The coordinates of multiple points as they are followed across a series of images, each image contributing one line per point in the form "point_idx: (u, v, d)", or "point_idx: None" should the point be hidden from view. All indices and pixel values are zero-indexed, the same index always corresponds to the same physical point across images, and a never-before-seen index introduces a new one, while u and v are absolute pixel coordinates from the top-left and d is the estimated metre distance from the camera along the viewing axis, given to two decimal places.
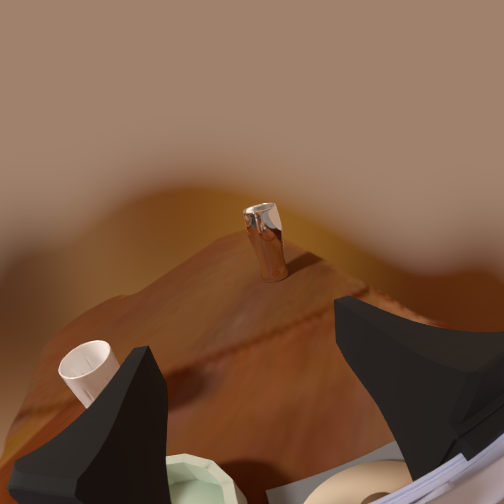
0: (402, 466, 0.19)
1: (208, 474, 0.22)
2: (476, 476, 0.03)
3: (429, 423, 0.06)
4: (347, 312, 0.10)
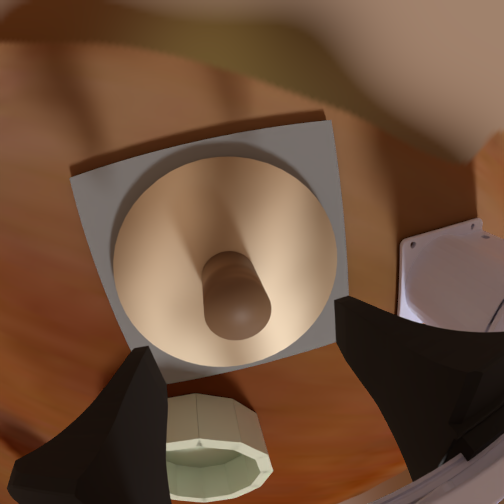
0: (136, 217, 0.15)
1: None
2: (476, 476, 0.03)
3: (429, 423, 0.06)
4: (347, 312, 0.10)
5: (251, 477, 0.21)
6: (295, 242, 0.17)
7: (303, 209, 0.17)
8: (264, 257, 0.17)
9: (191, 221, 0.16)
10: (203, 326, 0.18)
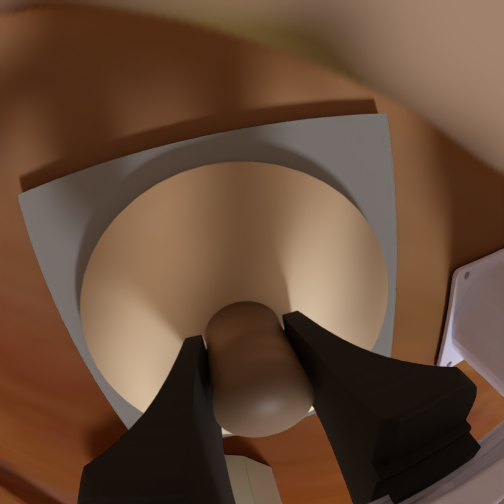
0: (106, 255, 0.10)
1: None
2: (476, 476, 0.03)
3: (358, 458, 0.06)
4: (291, 329, 0.10)
5: None
6: (337, 285, 0.12)
7: (350, 239, 0.11)
8: (294, 308, 0.12)
9: (188, 260, 0.11)
10: None
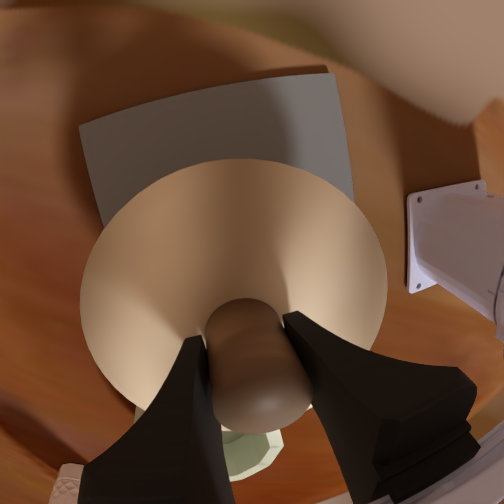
0: (106, 251, 0.10)
1: None
2: (476, 476, 0.03)
3: (358, 458, 0.06)
4: (291, 329, 0.10)
5: (260, 454, 0.21)
6: (336, 282, 0.12)
7: (350, 237, 0.11)
8: (293, 305, 0.12)
9: (188, 257, 0.11)
10: None
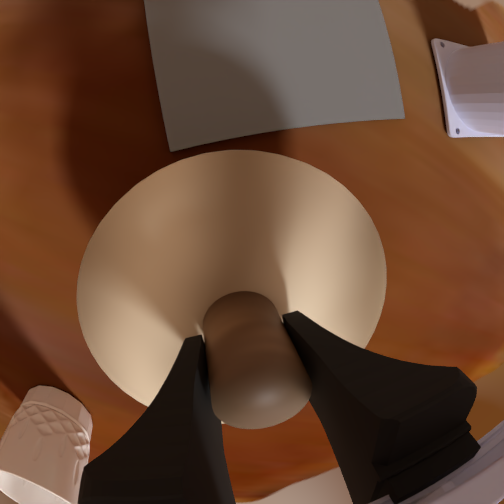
0: (104, 242, 0.10)
1: None
2: (476, 476, 0.03)
3: (358, 458, 0.06)
4: (291, 329, 0.10)
5: None
6: (336, 277, 0.12)
7: (351, 232, 0.11)
8: (292, 298, 0.12)
9: (187, 249, 0.10)
10: None
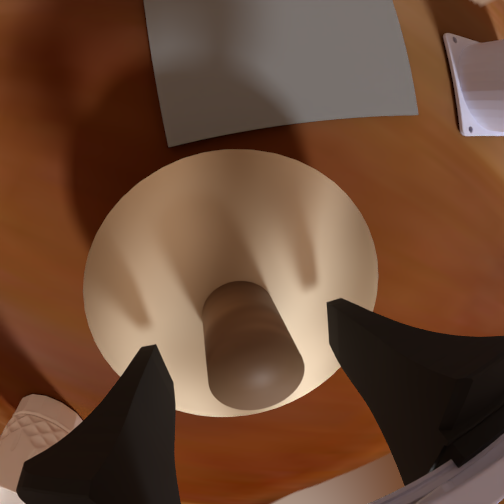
0: (111, 233, 0.11)
1: None
2: (476, 476, 0.03)
3: (419, 428, 0.06)
4: (339, 315, 0.10)
5: None
6: (328, 268, 0.13)
7: (341, 225, 0.12)
8: (287, 289, 0.13)
9: (188, 240, 0.11)
10: (204, 373, 0.13)
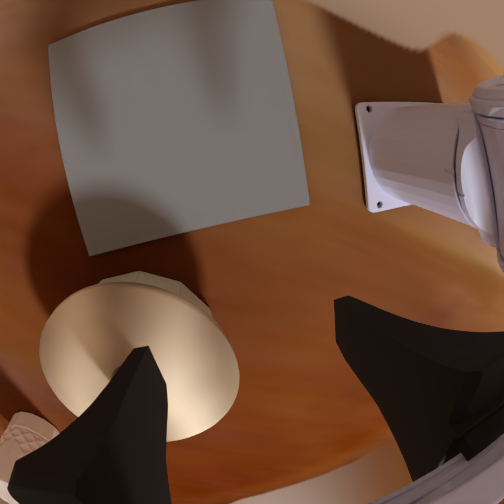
0: (50, 333, 0.15)
1: None
2: (476, 476, 0.03)
3: (429, 423, 0.06)
4: (347, 312, 0.10)
5: None
6: (192, 359, 0.17)
7: (196, 332, 0.16)
8: (164, 370, 0.17)
9: (94, 340, 0.15)
10: None
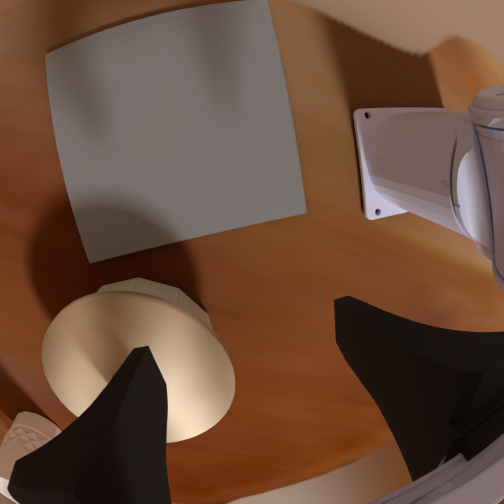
0: (51, 339, 0.15)
1: None
2: (476, 476, 0.03)
3: (429, 423, 0.06)
4: (347, 312, 0.10)
5: None
6: (189, 365, 0.17)
7: (192, 340, 0.17)
8: (162, 375, 0.17)
9: (94, 346, 0.16)
10: None
